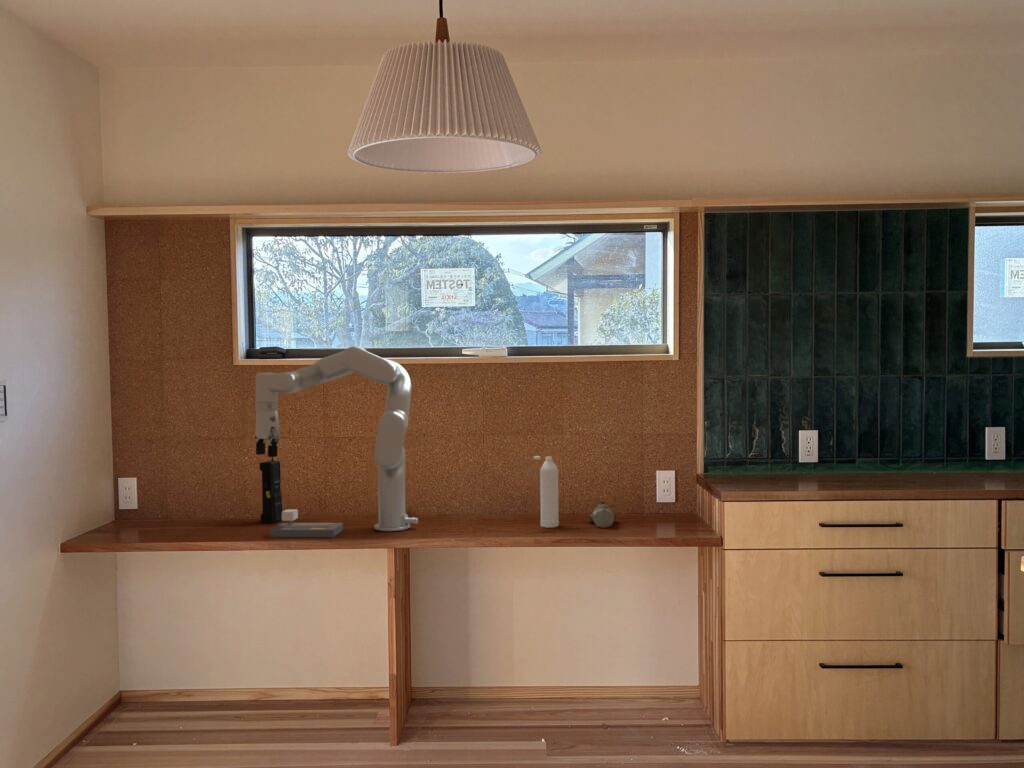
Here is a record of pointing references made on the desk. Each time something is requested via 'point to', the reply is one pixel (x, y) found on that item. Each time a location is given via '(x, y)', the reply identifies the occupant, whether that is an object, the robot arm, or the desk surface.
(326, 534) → the fader console
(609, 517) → the ceramic sculpture
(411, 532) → the desk surface
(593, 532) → the desk surface
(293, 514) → the fader knob
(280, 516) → the portable radio
